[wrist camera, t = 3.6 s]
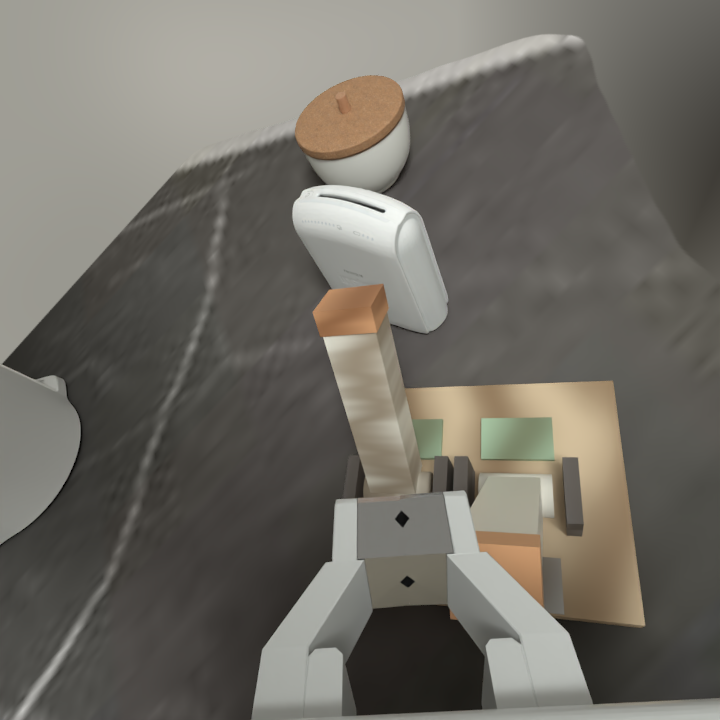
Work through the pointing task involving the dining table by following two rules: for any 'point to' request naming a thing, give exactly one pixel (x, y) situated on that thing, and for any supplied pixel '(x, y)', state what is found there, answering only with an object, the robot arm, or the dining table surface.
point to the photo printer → (374, 250)
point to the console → (492, 454)
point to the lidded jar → (357, 133)
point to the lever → (514, 524)
